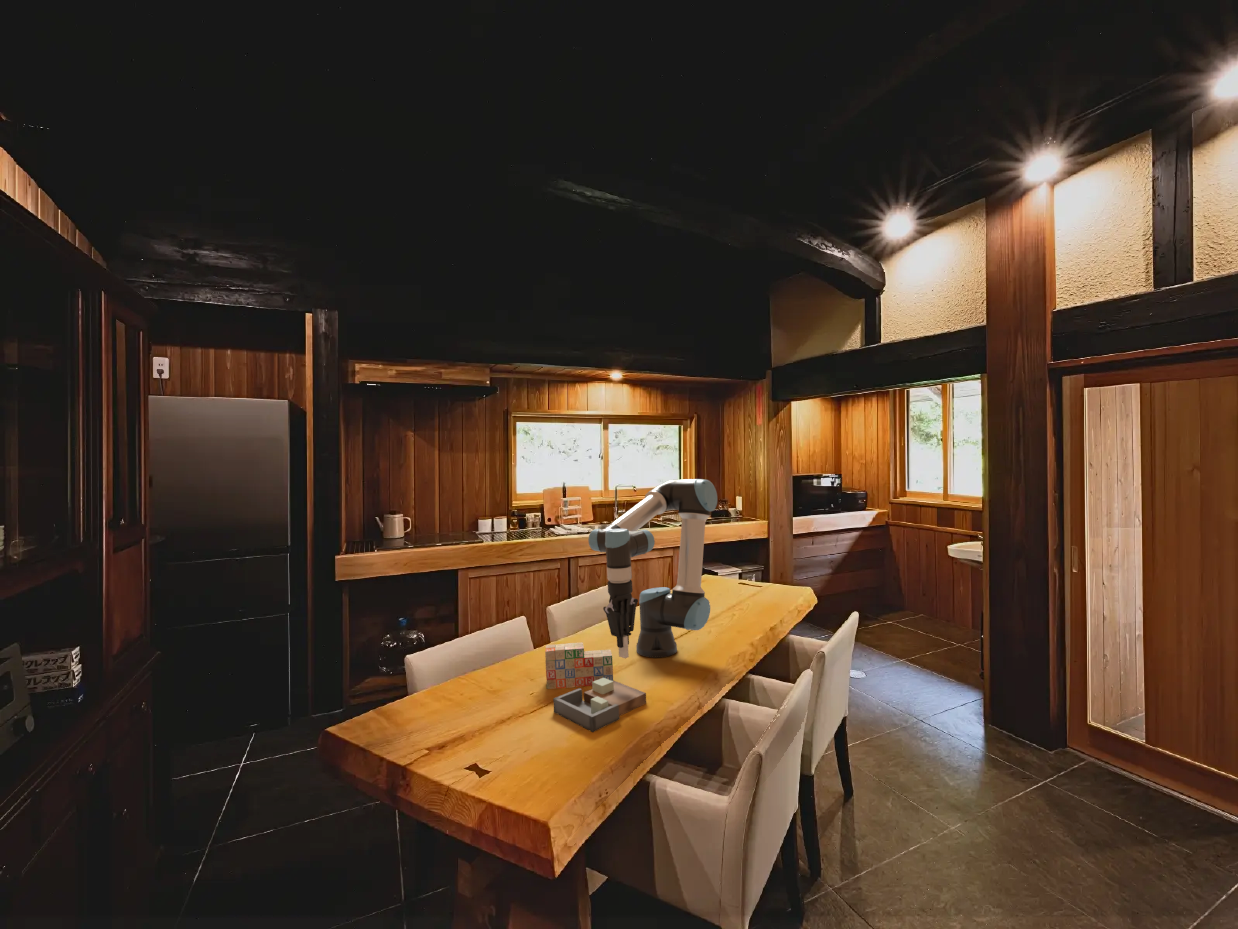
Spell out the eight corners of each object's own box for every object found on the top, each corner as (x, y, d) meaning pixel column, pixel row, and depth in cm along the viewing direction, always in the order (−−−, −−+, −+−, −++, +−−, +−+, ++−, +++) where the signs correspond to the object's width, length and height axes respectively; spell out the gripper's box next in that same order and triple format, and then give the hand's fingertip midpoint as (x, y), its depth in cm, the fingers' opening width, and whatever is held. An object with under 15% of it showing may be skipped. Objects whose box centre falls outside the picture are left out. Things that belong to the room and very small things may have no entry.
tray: (580, 701, 163) (579, 688, 163) (619, 719, 150) (619, 704, 150) (553, 712, 156) (553, 698, 156) (592, 732, 144) (592, 717, 144)
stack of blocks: (612, 677, 181) (610, 640, 181) (613, 684, 174) (612, 646, 174) (547, 681, 179) (545, 644, 179) (546, 689, 173) (544, 650, 173)
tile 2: (597, 696, 154) (590, 699, 152) (608, 701, 150) (601, 704, 149) (597, 712, 154) (591, 715, 152) (608, 717, 150) (601, 720, 149)
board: (613, 690, 170) (613, 680, 170) (646, 703, 160) (645, 693, 160) (584, 702, 162) (583, 692, 162) (616, 717, 151) (616, 706, 151)
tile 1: (603, 685, 166) (603, 677, 166) (613, 689, 163) (613, 681, 163) (592, 690, 163) (592, 682, 163) (602, 694, 160) (602, 686, 160)
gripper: (625, 574, 173) (629, 647, 174) (595, 582, 164) (599, 660, 165) (643, 577, 168) (647, 653, 169) (612, 586, 159) (617, 666, 160)
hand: (623, 656), depth 167 cm, fingers closed
